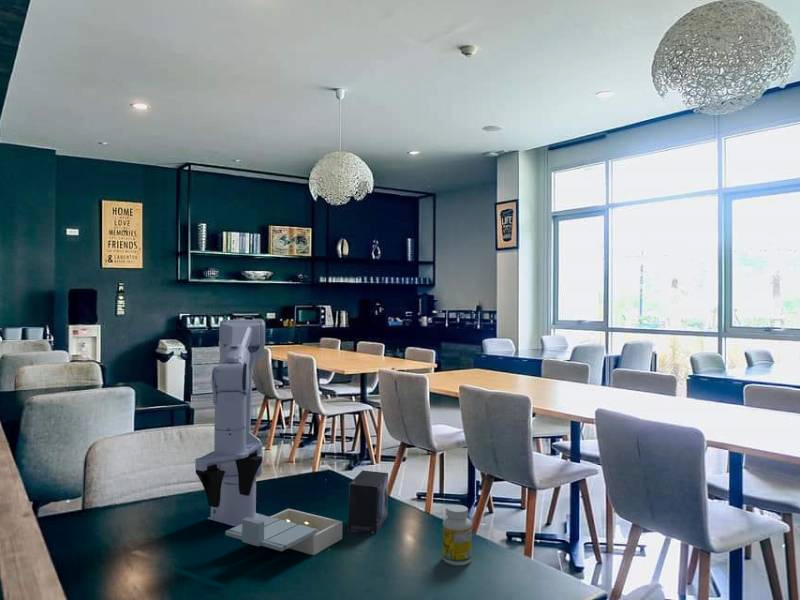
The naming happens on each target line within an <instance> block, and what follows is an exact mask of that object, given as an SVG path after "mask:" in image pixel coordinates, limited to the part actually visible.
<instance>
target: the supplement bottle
mask: <svg viewBox="0 0 800 600" xmlns="http://www.w3.org/2000/svg"><path fill="white" fill-rule="evenodd" d="M445 509H446V513H445V514H446V517H445V518H444V519H443V521H442V559H443V561H444V562H445V563H447V564H449V565H452V566H458V567H459V566H460V565H461V566H466V565H468V564H470V562H471V561H472V547H473V546H472V544H473V543H472V542H473V541H472V538H473V537H472V535H473V534H472V521H471V519H469V518H468V515H469V508H468V507H467V506H465V505H462V504H449V505H447V507H446V508H445Z"/></svg>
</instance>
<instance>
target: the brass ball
mask: <svg viewBox="0 0 800 600" xmlns="http://www.w3.org/2000/svg"><path fill="white" fill-rule="evenodd" d="M298 525H303V526H307V527H311V525H310V523H309V522H307V521H300V522H299V523H298ZM311 528H312V527H311Z"/></svg>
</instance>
